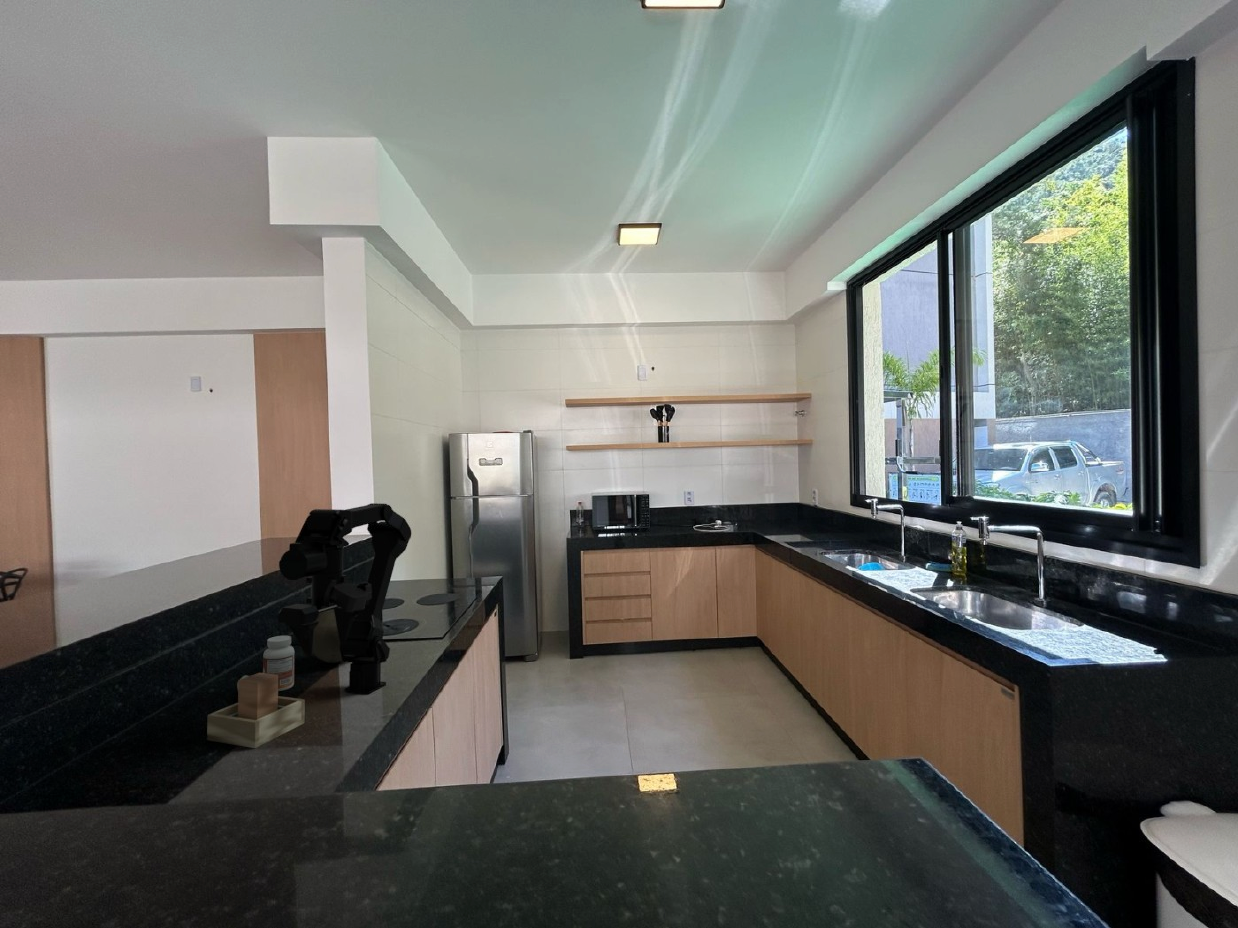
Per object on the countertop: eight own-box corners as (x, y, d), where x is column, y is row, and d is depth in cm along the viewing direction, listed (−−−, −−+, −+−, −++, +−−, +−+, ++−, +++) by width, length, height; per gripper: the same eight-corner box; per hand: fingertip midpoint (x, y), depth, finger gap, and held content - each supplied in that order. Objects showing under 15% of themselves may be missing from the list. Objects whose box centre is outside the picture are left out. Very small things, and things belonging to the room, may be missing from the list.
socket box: (259, 716, 118) (259, 693, 118) (304, 722, 115) (304, 699, 115) (207, 739, 107) (207, 714, 107) (255, 748, 104) (255, 722, 104)
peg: (258, 719, 114) (259, 672, 114) (277, 722, 112) (278, 674, 112) (237, 729, 109) (238, 680, 109) (257, 732, 108) (257, 682, 108)
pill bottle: (269, 683, 136) (270, 634, 136) (298, 682, 137) (299, 634, 137) (257, 693, 130) (258, 642, 130) (287, 692, 131) (288, 641, 131)
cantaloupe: (293, 667, 147) (294, 606, 147) (339, 651, 160) (340, 596, 160) (335, 674, 142) (336, 612, 142) (380, 658, 155) (380, 600, 155)
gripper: (324, 581, 108) (323, 667, 108) (391, 566, 126) (390, 639, 126) (276, 578, 112) (275, 661, 111) (348, 563, 129) (347, 635, 129)
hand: (326, 648), depth 119 cm, fingers open, 9 cm apart
